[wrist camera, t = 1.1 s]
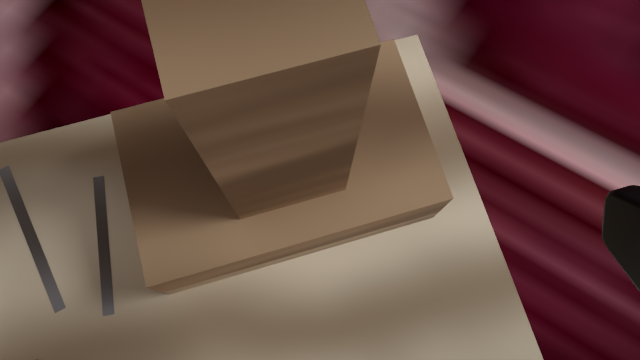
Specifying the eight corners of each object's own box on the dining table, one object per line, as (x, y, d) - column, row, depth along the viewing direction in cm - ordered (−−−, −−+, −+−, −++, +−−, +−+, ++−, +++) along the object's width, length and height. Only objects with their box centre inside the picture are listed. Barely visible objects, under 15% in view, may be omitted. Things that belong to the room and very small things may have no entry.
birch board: (588, 519, 19) (611, 535, 17) (-187, 797, 16) (-237, 843, 15) (410, 52, 24) (417, 34, 22) (-205, 214, 21) (-243, 205, 20)
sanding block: (433, 217, 20) (598, 62, 8) (171, 294, 19) (-43, 236, 8) (382, 78, 22) (465, -214, 10) (138, 142, 21) (-81, -98, 9)
